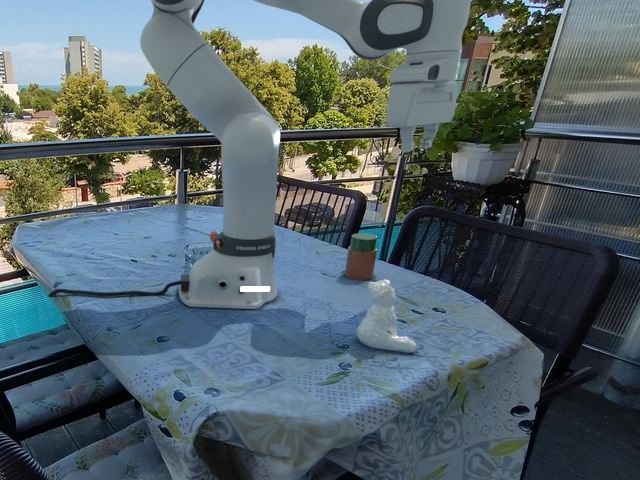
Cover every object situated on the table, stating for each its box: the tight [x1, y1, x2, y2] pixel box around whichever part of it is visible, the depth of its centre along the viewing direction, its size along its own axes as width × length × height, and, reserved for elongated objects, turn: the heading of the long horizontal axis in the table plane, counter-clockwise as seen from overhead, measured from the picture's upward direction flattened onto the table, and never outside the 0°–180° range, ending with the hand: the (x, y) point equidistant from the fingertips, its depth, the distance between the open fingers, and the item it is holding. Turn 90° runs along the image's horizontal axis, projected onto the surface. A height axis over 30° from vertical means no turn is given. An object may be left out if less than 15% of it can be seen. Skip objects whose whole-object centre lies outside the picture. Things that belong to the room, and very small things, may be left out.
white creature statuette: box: [355, 279, 417, 354], centre depth 82 cm, size 10×9×12 cm
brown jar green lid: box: [344, 232, 378, 281], centre depth 113 cm, size 6×6×10 cm
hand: (416, 150), depth 90 cm, fingers open, 6 cm apart
